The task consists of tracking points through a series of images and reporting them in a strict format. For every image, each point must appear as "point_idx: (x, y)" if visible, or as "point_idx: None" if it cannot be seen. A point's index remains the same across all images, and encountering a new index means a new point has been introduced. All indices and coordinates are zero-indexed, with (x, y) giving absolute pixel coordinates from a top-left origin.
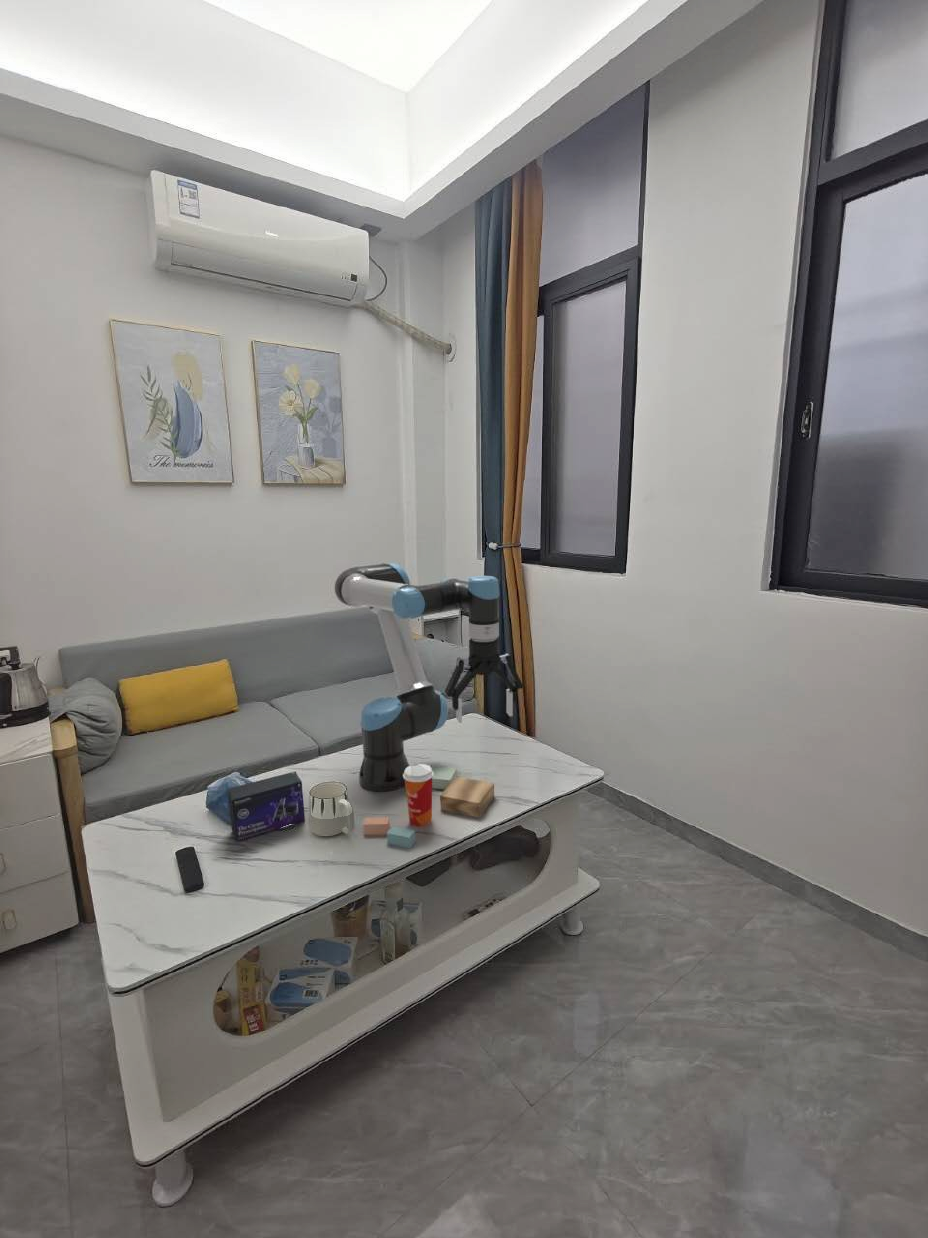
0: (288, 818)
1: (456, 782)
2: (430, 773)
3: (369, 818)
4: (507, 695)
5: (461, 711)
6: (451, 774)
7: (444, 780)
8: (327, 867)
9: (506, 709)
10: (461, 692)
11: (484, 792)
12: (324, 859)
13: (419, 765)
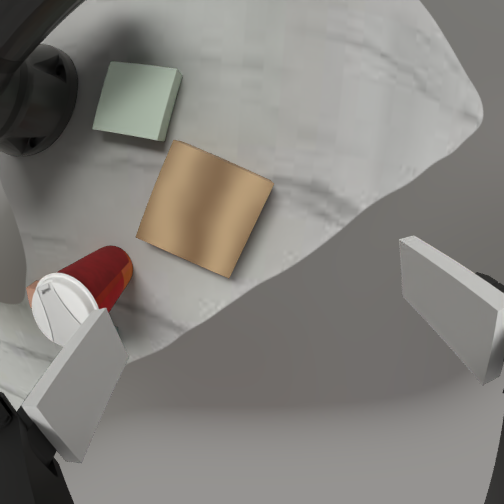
0: None
1: (172, 172)
2: None
3: (31, 290)
4: (467, 313)
5: (108, 398)
6: (160, 110)
7: (143, 137)
8: (31, 361)
9: (408, 247)
10: (67, 494)
11: (245, 229)
12: (21, 345)
13: (55, 293)
